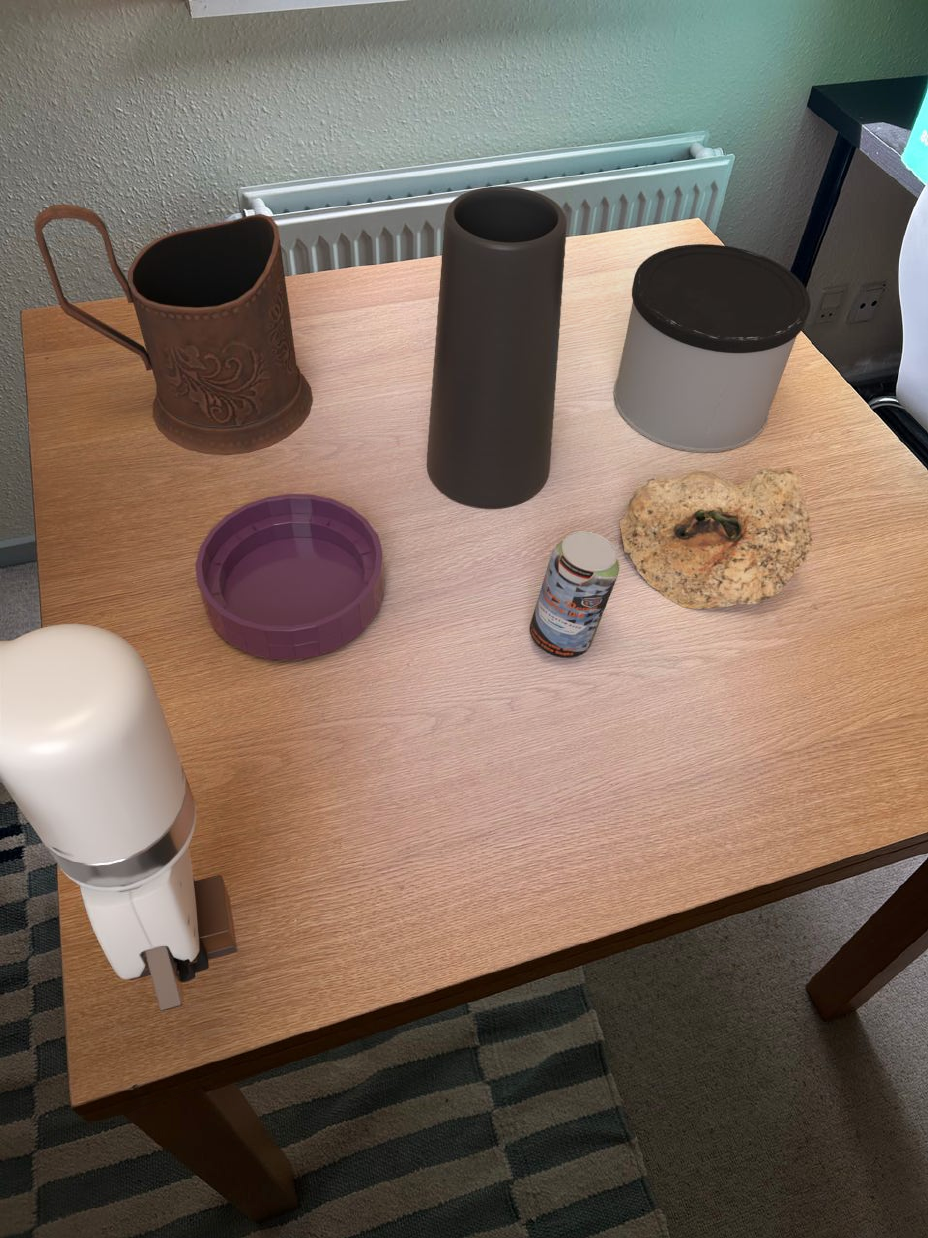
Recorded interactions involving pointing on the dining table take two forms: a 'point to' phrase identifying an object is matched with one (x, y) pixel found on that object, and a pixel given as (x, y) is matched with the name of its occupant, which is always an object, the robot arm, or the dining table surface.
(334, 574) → the bowl
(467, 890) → the dining table surface
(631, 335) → the container
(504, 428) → the vase
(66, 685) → the robot arm
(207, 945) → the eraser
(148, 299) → the cup holder
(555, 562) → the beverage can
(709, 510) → the beige rock
